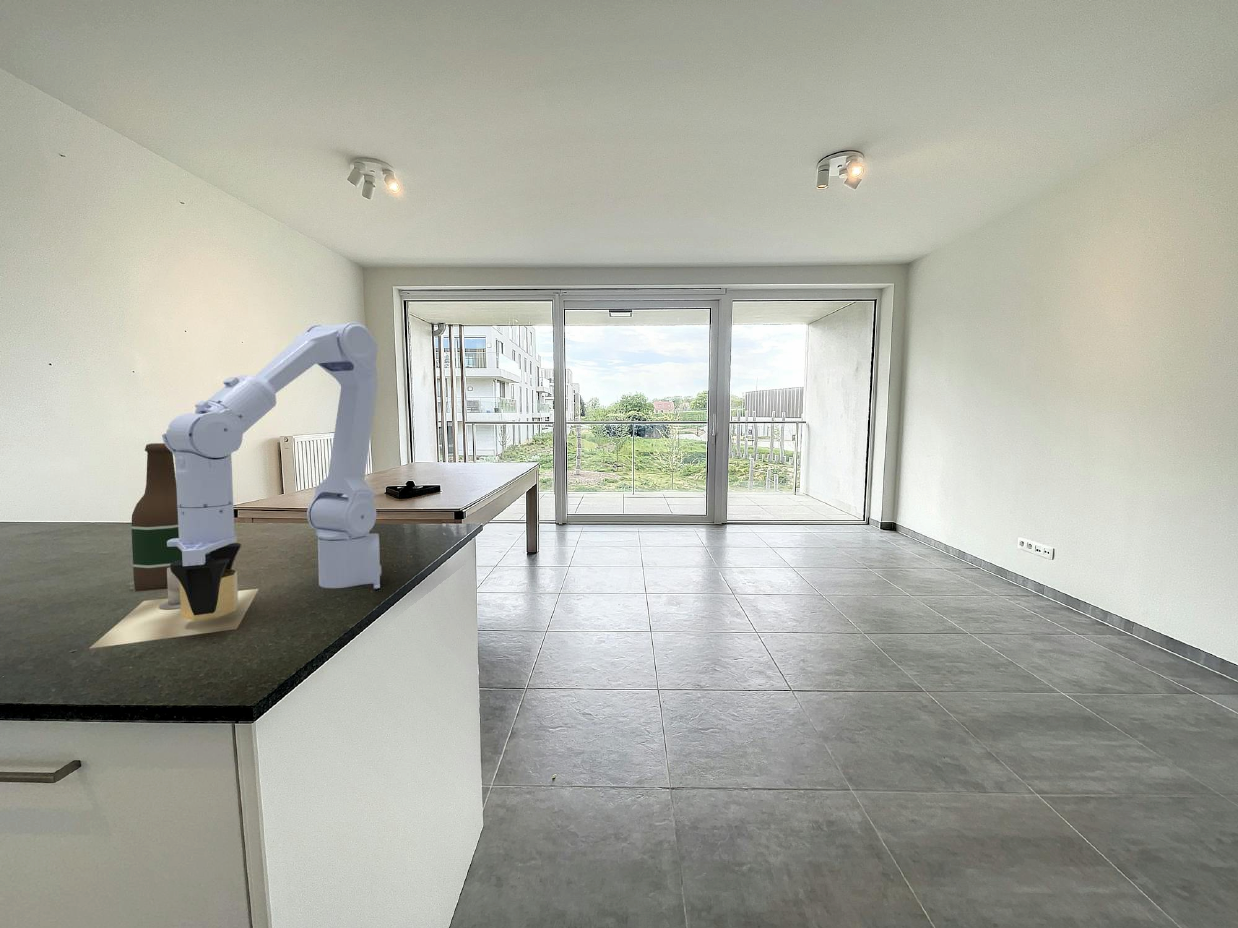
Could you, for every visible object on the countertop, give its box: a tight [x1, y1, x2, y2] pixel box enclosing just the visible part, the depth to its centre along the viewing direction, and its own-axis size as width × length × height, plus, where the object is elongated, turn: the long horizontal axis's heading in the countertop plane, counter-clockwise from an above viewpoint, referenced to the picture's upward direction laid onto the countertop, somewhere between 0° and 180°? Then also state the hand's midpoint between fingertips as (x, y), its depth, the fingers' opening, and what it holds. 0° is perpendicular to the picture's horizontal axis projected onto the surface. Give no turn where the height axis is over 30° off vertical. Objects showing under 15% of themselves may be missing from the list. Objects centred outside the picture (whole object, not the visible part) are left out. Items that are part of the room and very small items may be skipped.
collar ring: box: [179, 569, 239, 620], centre depth 68 cm, size 6×6×5 cm
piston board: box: [88, 567, 260, 650], centre depth 70 cm, size 14×18×6 cm
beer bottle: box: [130, 442, 182, 592], centre depth 83 cm, size 8×8×24 cm
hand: (210, 605), depth 68 cm, fingers closed on collar ring, 6 cm apart
